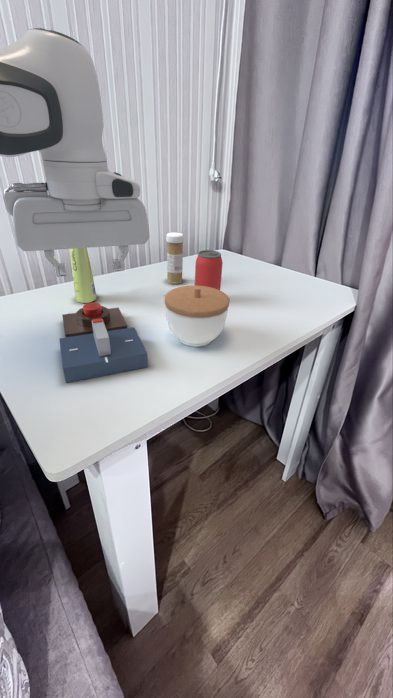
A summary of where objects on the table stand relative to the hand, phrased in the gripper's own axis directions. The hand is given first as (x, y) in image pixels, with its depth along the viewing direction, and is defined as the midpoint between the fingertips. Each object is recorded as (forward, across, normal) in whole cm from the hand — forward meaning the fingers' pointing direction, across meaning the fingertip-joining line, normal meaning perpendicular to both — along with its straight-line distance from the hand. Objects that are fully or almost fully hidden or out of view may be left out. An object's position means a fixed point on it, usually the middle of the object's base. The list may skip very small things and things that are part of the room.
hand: (90, 272), depth 56 cm
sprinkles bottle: (+15, +24, +29) cm, 41 cm away
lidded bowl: (+15, +19, -2) cm, 24 cm away
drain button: (+12, 0, +8) cm, 14 cm away
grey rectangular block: (+12, 0, -4) cm, 13 cm away
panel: (+15, 0, -4) cm, 16 cm away
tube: (+15, 0, +24) cm, 28 cm away
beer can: (+15, +29, +15) cm, 36 cm away
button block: (+15, 0, +8) cm, 17 cm away
